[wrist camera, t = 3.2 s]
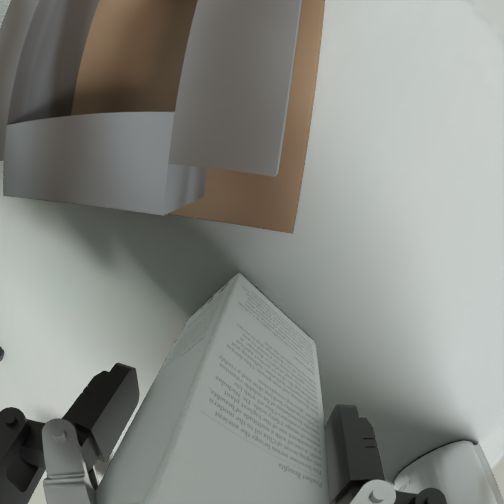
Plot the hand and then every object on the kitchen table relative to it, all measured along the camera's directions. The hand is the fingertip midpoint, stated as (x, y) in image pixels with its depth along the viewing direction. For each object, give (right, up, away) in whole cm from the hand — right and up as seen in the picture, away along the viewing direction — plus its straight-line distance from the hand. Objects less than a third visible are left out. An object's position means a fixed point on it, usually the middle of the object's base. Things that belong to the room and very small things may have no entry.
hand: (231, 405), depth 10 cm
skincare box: (+1, +2, +6) cm, 6 cm away
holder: (-4, +16, +1) cm, 16 cm away
